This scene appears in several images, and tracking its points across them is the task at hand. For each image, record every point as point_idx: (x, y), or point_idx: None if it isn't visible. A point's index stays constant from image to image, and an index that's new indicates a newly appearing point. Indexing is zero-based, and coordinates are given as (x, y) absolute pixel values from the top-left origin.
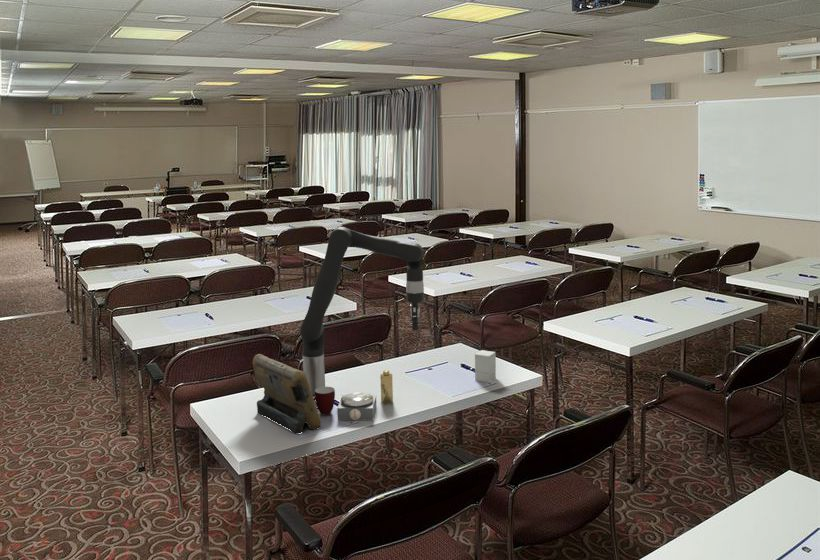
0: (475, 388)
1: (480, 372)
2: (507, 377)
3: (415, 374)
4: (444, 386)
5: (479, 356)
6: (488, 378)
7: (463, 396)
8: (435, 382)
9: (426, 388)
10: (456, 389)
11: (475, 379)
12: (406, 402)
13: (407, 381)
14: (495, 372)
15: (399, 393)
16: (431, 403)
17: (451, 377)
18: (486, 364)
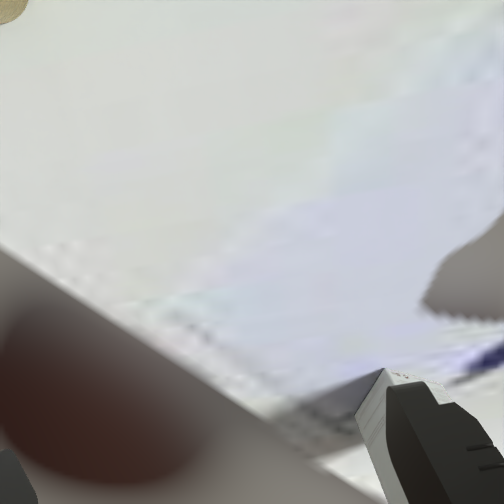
0: (285, 380)
1: (384, 417)
2: None
3: (486, 77)
4: (298, 261)
5: None
6: (360, 427)
7: (183, 353)
8: (353, 211)
9: (261, 181)
10: (264, 316)
11: (384, 371)
12: (26, 110)
13: (366, 48)
14: None
15: (156, 37)
16: (57, 241)
17: (424, 272)
18: (386, 474)
